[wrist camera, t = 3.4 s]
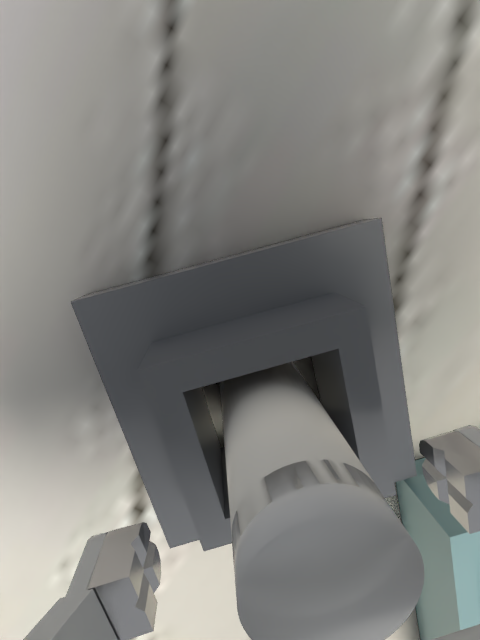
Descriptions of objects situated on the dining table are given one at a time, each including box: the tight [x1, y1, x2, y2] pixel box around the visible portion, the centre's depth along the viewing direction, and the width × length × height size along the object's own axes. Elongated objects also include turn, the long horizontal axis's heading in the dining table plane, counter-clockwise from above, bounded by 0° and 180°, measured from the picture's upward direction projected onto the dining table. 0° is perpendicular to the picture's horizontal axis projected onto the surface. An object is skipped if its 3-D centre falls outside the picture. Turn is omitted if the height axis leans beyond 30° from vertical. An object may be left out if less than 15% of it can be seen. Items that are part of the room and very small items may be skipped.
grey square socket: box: [71, 218, 417, 551], centre depth 14 cm, size 13×13×4 cm
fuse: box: [220, 361, 425, 640], centre depth 12 cm, size 4×4×10 cm
